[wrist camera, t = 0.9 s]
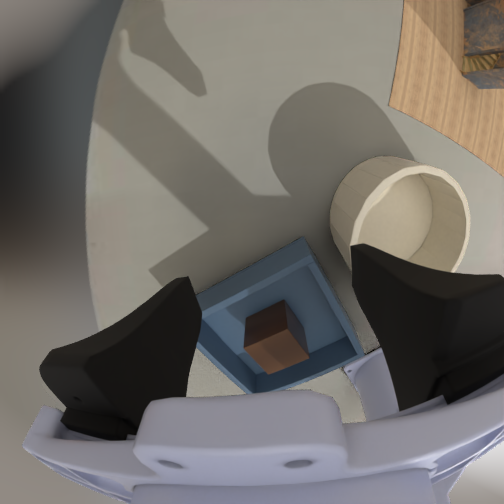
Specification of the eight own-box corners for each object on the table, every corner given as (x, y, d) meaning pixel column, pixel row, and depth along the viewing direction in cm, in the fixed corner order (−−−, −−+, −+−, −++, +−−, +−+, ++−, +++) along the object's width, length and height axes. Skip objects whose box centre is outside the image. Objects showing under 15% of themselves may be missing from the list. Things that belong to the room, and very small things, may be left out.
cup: (443, 236, 21) (477, 262, 16) (356, 288, 23) (377, 327, 18) (410, 136, 17) (450, 141, 12) (307, 192, 20) (322, 213, 15)
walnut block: (304, 327, 25) (310, 358, 21) (267, 344, 26) (268, 375, 22) (284, 298, 23) (287, 328, 20) (245, 317, 24) (242, 348, 21)
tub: (356, 332, 25) (365, 355, 22) (254, 376, 28) (253, 400, 25) (303, 235, 21) (310, 254, 18) (183, 301, 24) (174, 325, 21)
